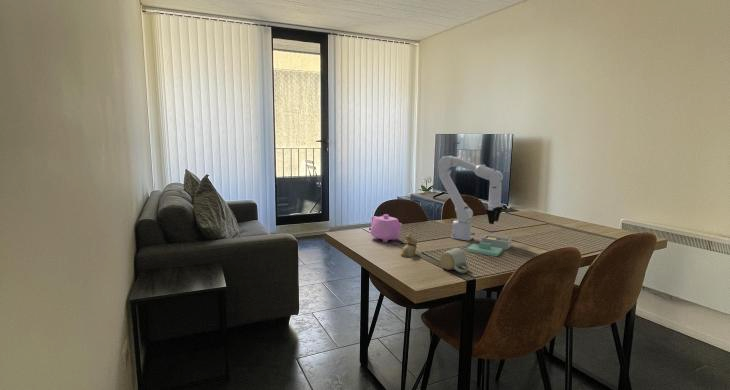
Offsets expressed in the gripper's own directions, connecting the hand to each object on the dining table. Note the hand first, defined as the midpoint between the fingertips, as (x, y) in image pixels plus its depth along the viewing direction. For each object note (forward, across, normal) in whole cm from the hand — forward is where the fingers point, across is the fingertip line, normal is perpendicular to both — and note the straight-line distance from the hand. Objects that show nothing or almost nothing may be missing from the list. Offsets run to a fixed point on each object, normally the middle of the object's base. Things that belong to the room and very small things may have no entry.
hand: (493, 222), depth 195 cm
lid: (+10, -18, -1) cm, 21 cm away
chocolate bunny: (+10, -44, +24) cm, 51 cm away
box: (+10, -6, -4) cm, 12 cm away
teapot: (+10, -28, +46) cm, 54 cm away
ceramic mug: (+10, -50, +1) cm, 51 cm away
